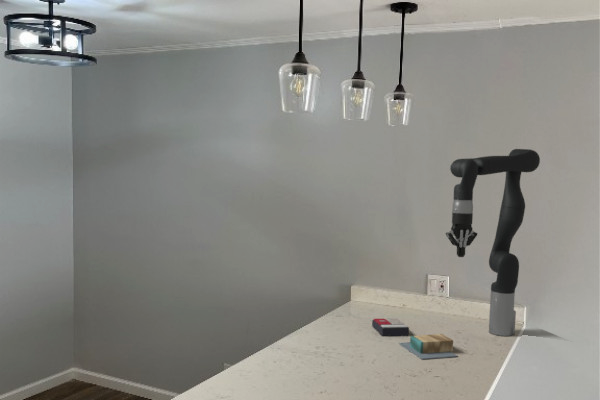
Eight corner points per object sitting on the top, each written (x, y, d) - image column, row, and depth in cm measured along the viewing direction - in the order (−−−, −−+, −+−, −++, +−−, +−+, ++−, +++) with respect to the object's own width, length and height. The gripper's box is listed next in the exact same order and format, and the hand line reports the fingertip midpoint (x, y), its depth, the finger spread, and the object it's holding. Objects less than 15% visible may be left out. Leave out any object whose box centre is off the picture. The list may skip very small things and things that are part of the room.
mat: (432, 341, 229) (432, 340, 228) (457, 356, 211) (457, 355, 211) (398, 343, 224) (398, 342, 224) (422, 359, 207) (422, 358, 207)
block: (441, 334, 224) (410, 335, 220) (453, 340, 216) (420, 342, 212) (441, 344, 224) (410, 346, 220) (452, 351, 216) (420, 353, 213)
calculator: (397, 317, 250) (409, 325, 235) (397, 327, 250) (409, 336, 235) (372, 317, 248) (382, 326, 233) (371, 328, 248) (382, 337, 233)
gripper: (472, 210, 232) (470, 254, 234) (441, 210, 229) (440, 255, 230) (483, 212, 225) (481, 258, 227) (452, 212, 221) (450, 259, 223)
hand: (460, 256), depth 228 cm, fingers closed
